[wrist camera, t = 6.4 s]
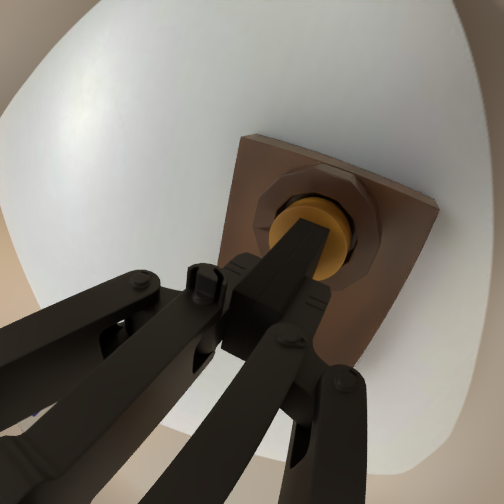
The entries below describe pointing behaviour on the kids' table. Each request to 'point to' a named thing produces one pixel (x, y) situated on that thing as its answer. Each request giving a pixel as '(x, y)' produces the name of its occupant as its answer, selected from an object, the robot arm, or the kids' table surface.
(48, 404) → the robot arm
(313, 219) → the lamp switch
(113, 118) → the kids' table surface
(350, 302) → the lamp base
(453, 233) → the kids' table surface
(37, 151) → the kids' table surface
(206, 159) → the kids' table surface
